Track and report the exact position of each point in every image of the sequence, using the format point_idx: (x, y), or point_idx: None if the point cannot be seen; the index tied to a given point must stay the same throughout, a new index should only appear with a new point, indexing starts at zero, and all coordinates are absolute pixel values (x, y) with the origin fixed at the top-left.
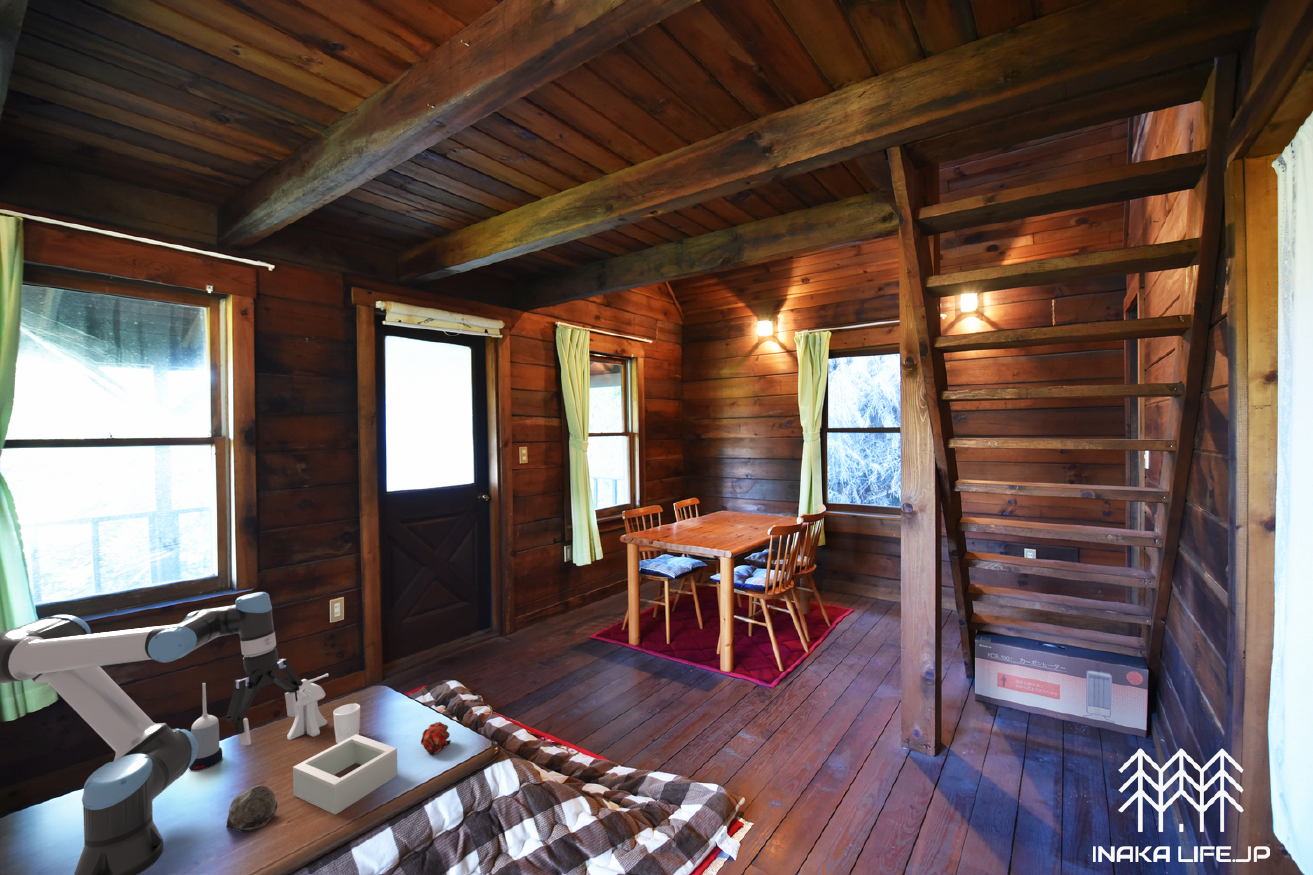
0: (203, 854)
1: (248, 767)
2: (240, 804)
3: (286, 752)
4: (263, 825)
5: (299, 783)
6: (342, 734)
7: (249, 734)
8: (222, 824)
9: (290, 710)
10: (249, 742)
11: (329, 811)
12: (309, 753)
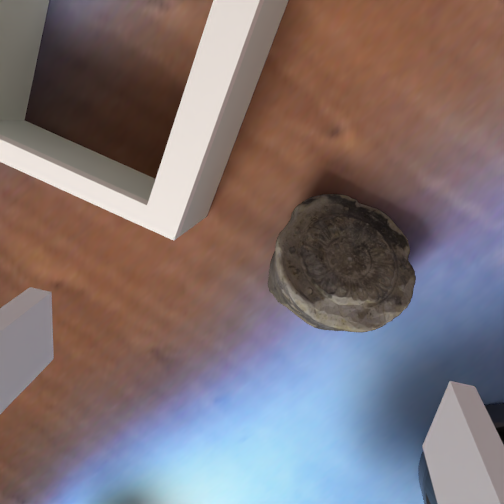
0: (481, 294)
1: (103, 438)
2: (370, 297)
3: None
4: (358, 203)
5: (204, 191)
6: None
7: (478, 440)
8: (347, 336)
9: (20, 358)
10: (464, 392)
11: (283, 13)
12: None
